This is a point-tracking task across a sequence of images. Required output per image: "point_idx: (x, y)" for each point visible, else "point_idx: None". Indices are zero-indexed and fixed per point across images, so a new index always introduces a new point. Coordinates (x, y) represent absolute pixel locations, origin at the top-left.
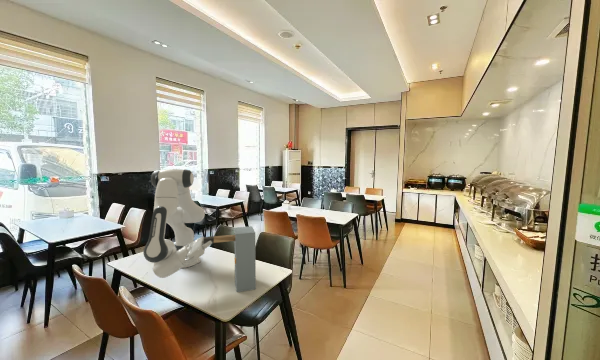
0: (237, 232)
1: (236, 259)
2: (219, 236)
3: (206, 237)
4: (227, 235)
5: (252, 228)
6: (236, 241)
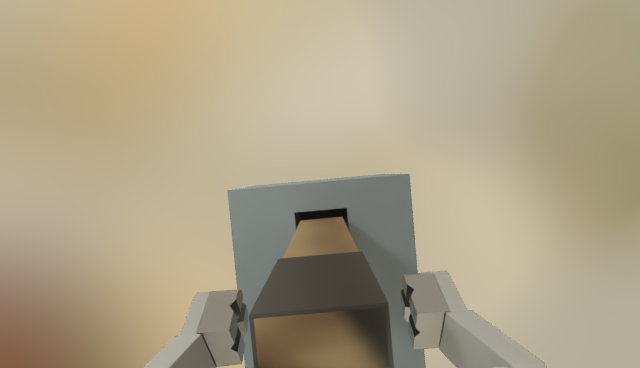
0: (368, 177)
1: (424, 359)
2: (308, 242)
3: (302, 288)
4: (301, 229)
5: (302, 181)
6: (413, 228)
